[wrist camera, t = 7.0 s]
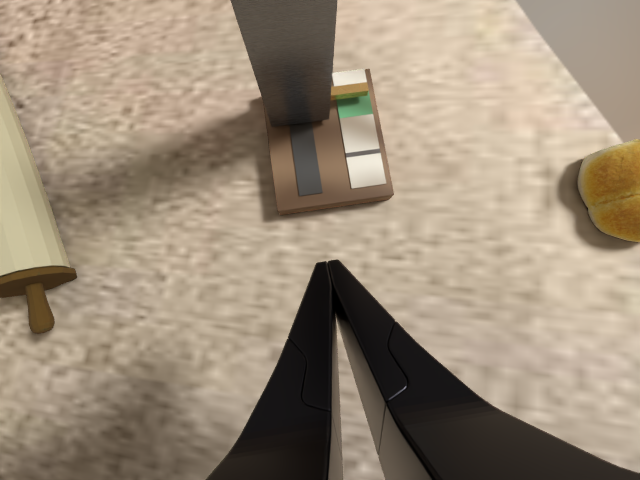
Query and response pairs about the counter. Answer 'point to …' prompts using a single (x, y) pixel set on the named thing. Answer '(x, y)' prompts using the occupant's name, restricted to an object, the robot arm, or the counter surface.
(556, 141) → the counter surface
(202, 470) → the counter surface
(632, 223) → the bread roll
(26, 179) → the rolling pin
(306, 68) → the grey square pillar
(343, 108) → the board
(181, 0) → the counter surface
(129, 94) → the counter surface
